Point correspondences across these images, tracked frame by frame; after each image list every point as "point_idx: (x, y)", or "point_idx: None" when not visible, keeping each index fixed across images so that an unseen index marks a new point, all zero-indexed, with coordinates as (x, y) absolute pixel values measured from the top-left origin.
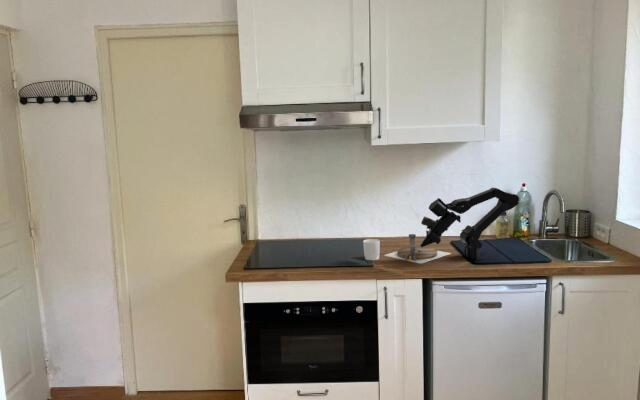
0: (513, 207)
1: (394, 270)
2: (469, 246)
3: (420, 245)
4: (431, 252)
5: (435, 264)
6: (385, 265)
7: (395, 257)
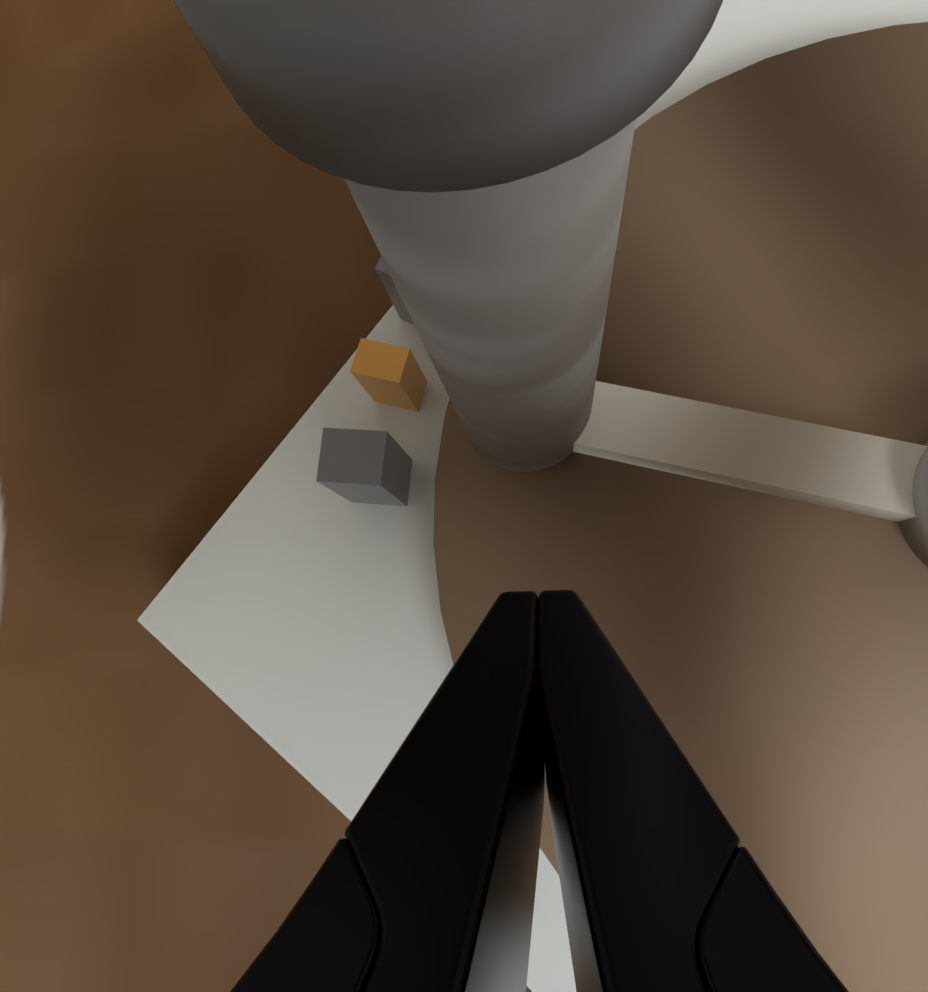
0: None
1: (2, 198)
2: None
3: (500, 599)
4: (922, 939)
5: None
6: None
7: None
